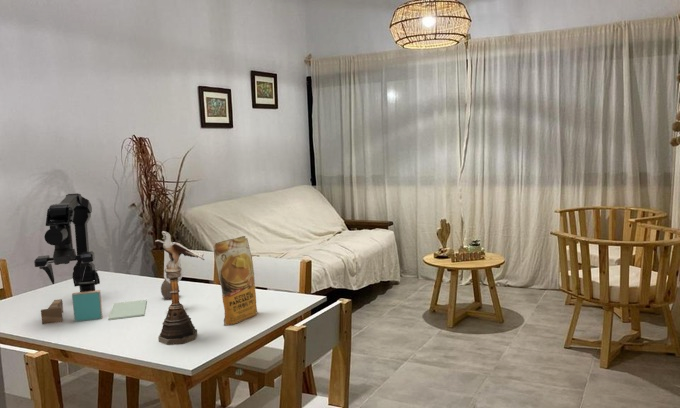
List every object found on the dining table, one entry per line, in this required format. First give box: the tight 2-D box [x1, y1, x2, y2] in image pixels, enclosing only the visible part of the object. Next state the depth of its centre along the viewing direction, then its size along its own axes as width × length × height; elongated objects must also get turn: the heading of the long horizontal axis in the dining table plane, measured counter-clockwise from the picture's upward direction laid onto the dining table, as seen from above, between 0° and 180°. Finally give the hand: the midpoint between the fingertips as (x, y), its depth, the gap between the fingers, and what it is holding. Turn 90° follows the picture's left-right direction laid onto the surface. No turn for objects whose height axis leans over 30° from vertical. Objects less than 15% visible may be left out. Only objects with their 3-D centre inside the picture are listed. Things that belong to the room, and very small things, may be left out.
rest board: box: [108, 299, 148, 321], centre depth 208 cm, size 20×12×1 cm, turn 17°
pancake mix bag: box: [213, 235, 258, 326], centre depth 191 cm, size 7×19×28 cm, turn 146°
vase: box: [160, 278, 180, 300], centre depth 222 cm, size 7×7×9 cm
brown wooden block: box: [40, 298, 64, 325], centre depth 202 cm, size 13×6×5 cm, turn 17°
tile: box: [71, 289, 104, 323], centre depth 198 cm, size 2×9×10 cm, turn 107°
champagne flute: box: [163, 249, 186, 313], centre depth 205 cm, size 7×7×24 cm
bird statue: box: [154, 230, 205, 346], centre depth 176 cm, size 17×13×35 cm
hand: (67, 282), depth 199 cm, fingers open, 9 cm apart
